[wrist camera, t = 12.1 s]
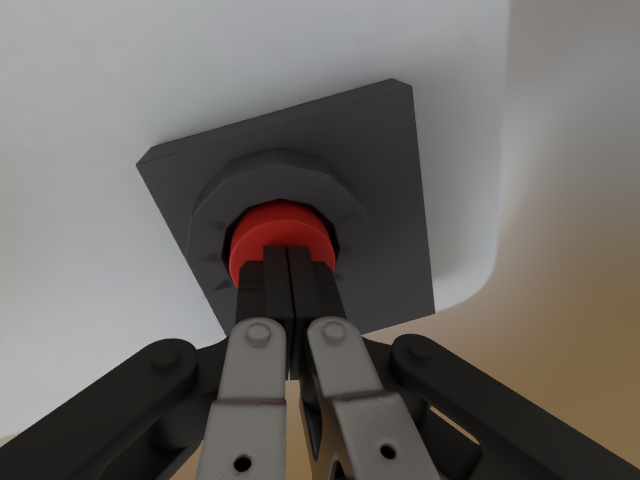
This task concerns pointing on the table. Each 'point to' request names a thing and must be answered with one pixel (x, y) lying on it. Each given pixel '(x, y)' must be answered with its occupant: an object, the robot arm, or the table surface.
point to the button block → (309, 197)
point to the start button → (278, 233)
